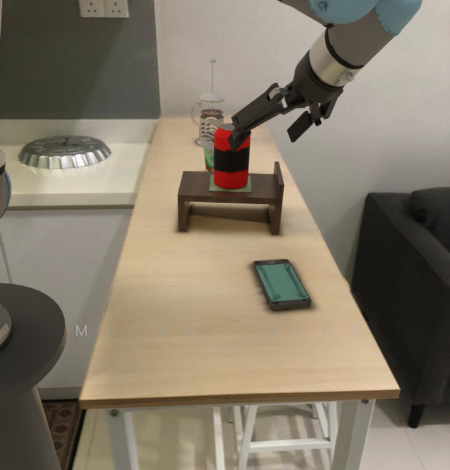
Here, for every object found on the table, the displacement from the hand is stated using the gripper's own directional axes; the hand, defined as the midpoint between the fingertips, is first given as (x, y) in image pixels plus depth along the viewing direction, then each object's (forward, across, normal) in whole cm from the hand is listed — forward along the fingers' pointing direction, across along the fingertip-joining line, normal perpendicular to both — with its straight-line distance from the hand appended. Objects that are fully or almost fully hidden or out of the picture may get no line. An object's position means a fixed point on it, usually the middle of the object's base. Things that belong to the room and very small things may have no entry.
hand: (261, 140), depth 88 cm
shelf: (+22, 0, -7) cm, 23 cm away
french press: (+59, +24, +29) cm, 70 cm away
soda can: (+16, 0, -1) cm, 16 cm away
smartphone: (+3, -6, -27) cm, 28 cm away
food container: (+39, +12, +9) cm, 41 cm away
